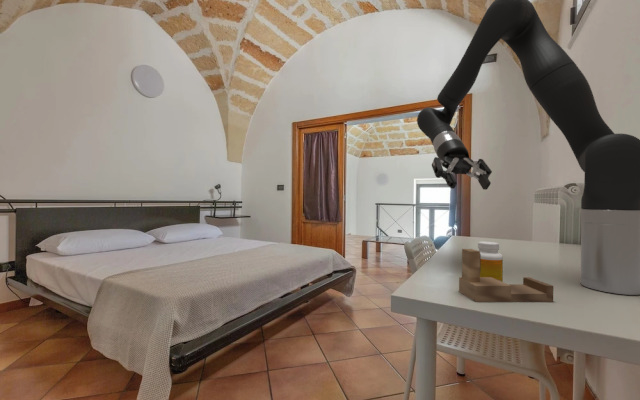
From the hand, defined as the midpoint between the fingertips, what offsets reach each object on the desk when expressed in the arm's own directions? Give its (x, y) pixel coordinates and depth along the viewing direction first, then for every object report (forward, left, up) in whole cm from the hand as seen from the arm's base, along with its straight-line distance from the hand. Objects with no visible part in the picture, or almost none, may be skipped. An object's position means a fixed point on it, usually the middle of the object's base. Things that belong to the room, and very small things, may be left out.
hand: (470, 186), depth 70 cm
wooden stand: (+2, +15, -23) cm, 27 cm away
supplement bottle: (+1, +9, -23) cm, 24 cm away
